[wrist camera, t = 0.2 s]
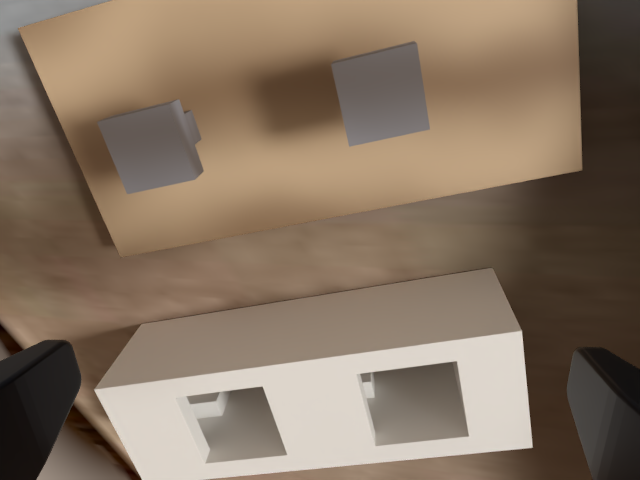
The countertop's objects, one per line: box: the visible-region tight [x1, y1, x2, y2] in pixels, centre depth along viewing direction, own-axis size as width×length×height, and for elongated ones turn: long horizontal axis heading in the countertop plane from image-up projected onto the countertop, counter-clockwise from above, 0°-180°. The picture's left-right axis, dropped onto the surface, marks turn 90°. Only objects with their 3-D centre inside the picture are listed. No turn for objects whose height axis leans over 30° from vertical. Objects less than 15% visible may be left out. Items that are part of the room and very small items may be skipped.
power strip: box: [94, 268, 533, 480], centre depth 24 cm, size 18×6×5 cm, turn 104°
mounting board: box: [18, 0, 582, 258], centre depth 18 cm, size 10×20×5 cm, turn 104°
